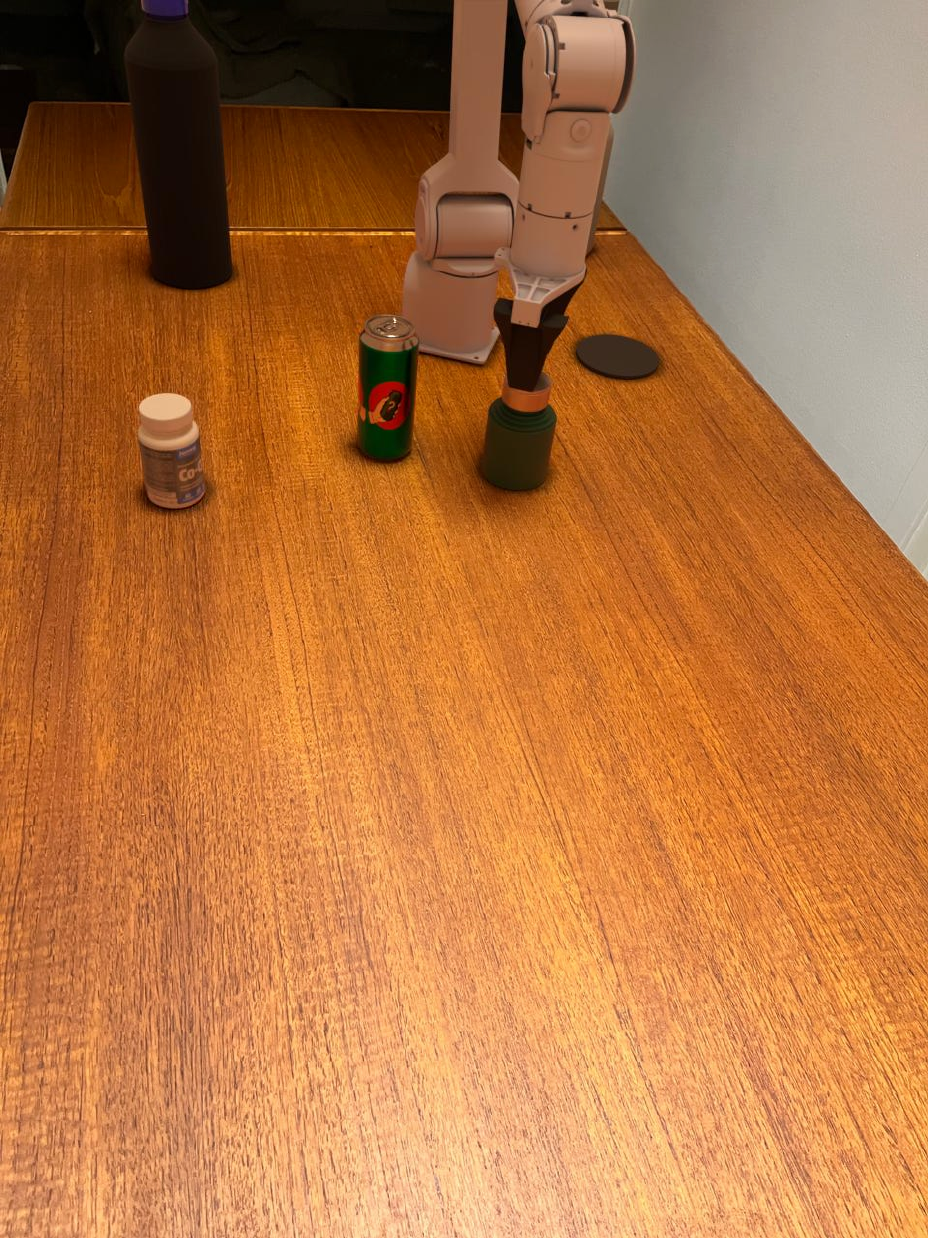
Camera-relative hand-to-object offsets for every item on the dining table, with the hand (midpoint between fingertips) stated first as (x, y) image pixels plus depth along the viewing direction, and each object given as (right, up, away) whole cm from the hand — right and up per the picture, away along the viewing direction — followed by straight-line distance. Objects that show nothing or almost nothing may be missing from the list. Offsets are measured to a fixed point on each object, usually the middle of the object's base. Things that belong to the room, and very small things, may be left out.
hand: (529, 368), depth 81 cm
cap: (0, -1, +1) cm, 1 cm away
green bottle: (-1, -7, +7) cm, 10 cm away
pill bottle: (-30, -10, 0) cm, 31 cm away
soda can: (-13, -5, +8) cm, 16 cm away
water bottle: (+6, +27, +44) cm, 52 cm away
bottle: (-36, +18, +30) cm, 50 cm away
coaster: (+11, +7, +24) cm, 28 cm away
